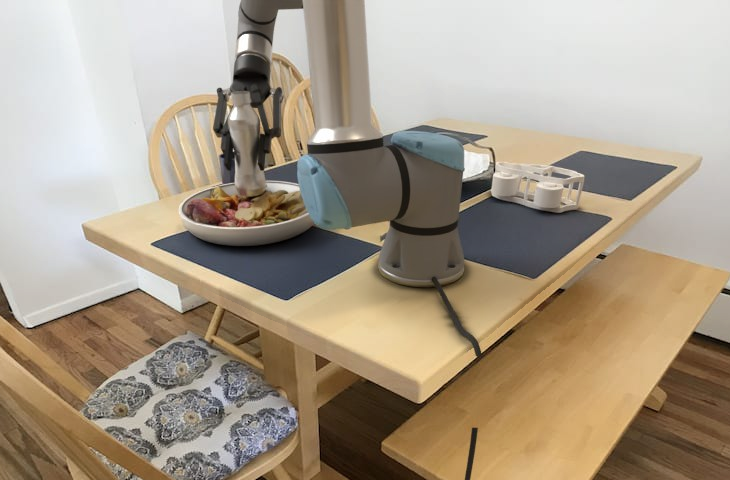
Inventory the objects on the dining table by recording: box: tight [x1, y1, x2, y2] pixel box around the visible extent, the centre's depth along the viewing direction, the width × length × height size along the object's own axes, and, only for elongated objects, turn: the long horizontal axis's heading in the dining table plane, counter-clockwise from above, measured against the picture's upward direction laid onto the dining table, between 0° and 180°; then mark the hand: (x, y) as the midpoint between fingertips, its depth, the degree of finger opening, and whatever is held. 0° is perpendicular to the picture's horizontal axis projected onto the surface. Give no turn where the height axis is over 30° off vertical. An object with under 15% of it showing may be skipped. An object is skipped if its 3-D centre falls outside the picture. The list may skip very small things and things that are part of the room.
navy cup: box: [217, 150, 235, 185], centre depth 135 cm, size 8×8×9 cm
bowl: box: [178, 180, 315, 247], centre depth 117 cm, size 30×30×8 cm
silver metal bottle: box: [227, 91, 267, 196], centre depth 110 cm, size 6×7×20 cm
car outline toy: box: [490, 161, 585, 214], centre depth 125 cm, size 20×11×7 cm, turn 42°
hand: (244, 166), depth 109 cm, fingers closed on silver metal bottle, 6 cm apart
